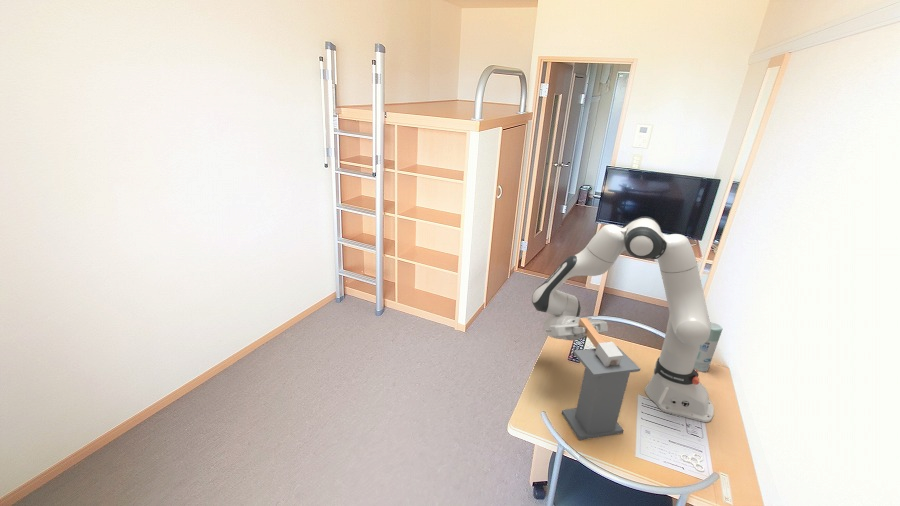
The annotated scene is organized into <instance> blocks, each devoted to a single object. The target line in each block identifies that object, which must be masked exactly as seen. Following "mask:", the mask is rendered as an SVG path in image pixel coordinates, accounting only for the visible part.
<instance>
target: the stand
mask: <svg viewBox="0 0 900 506" xmlns="http://www.w3.org/2000/svg"><path fill="white" fill-rule="evenodd" d="M616 347H617V348H618V349H619V350H620V352H621V353H622V354H623V357H622V360H621V362H620V365H613V366H606V367H605V366H604V364H603V363H602V361H601V360H600V359H599V357H598V356H597V354H596V353H595V352H596V348H595V347H594V348H585V349H576V350H573V352H572V353H573V354H574V356H575V357H576V358H577V359H578V361H579V362H580V363H581V364H582V366H583V367H584V371H583V377H582V382H581V386H580V392H579V396H578V401H577V404H576V405H577V406H576V407H575V408H566V409H562V410H561V415H562V417H563V418H564V420H565V421H566V423H567V425H568V426H569V427H570V429H571V430H572V432H573V434H574V435H575V437H576V438H577V440H578V441H584V440H585V441H586V440H590V439H599V438H603V437H604V438H605V437H611V436H615V435H622V434H624V428H623V427H622V426H621V425H620V424H619V422H618V419H619V416H620V412H621V409H622V404H623V400H624V396H625V393H626V389H627V385H628V382H629V377H630V374H631V373H637V372H639V373H640V372H641V367H640V366H638V365H637V363H635V362H634V361H633V360H632V359H631V358H630V356H628V355H627V353H626V352H625V351H623V350H622V349H621V348H620V347H619V346H618V345H616Z"/></svg>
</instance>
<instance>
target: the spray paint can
mask: <svg viewBox="0 0 900 506" xmlns="http://www.w3.org/2000/svg"><path fill="white" fill-rule="evenodd" d="M710 324H711V332H710V336H709V339H708V340H707V341H706V342H705V343H704V344H702V345H700V346H699V353H698V356H697V359H696V362H695V365H694V369H695V371H696V369H697V371H698V372H701V373H706V372H708V370H709V368H710V365H711V362H712V360H713V357H714V354H715V351H716V349H717V346H718V344H719V340H720V337H721V335H722V331H723V327H722V326H721V325H720V324H717V323H715V322H712V321H710Z"/></svg>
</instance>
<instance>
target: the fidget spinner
mask: <svg viewBox="0 0 900 506" xmlns="http://www.w3.org/2000/svg"><path fill="white" fill-rule="evenodd" d="M696 456H697V457H699V458H697V457H696ZM684 457H686V458H687V457H688V458H687V459H685V458H684ZM679 458H680V460H681V461H683V462H685V463H689V464H691V465H692V467H693V468H694V470H696V471H697V472H699V473H704V472H705V471H706V470H705V467H704V466H703V465H702V464H701V462H703V460H704V459H703V457H702V455H701V454H699V453H696V452H695V453H693V454H692V455H688V454H686V453H682V454H679ZM693 460H695V461H696V462H694V461H693ZM697 466H698V467H700V468H698V467H697Z"/></svg>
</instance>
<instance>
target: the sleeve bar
mask: <svg viewBox="0 0 900 506" xmlns="http://www.w3.org/2000/svg"><path fill="white" fill-rule="evenodd" d="M579 326H580V327H586V328H587V333H585V334H586V335H587V336H586V337H587V338H588V339H589V341H590V342H591V343H592V345H593V346H594V348H596V352H595V353H596V354H597V356H598V357H599V359H600V360H601V361H602V363H603V364H604V366H605V367H606V366H613V365H620V362H621V360H622V357H623V354H622V353H621V352H620V350H619V349H618V348H617V347H616V346H617V345H616V343H614V341H607V342H606V341H605V340H604V338H603V337H602V336H601V334H600V333H598V332H597V331H596V329H595V328H594V327H593V325H592V324H591V323H590V322H589V320H588V319H587V318H586V317H582V318H580V320H579Z"/></svg>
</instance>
